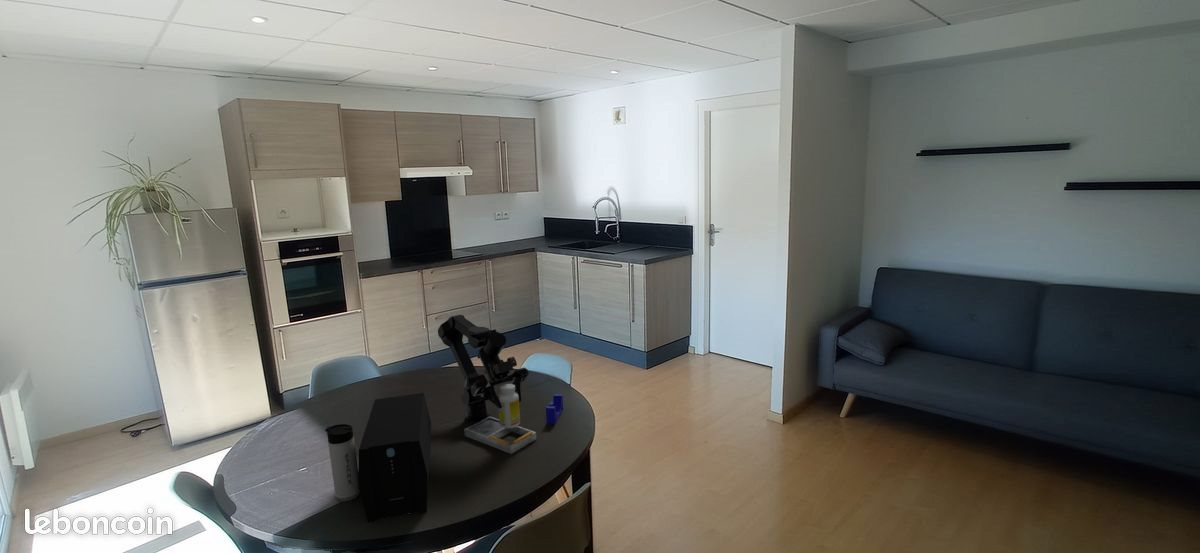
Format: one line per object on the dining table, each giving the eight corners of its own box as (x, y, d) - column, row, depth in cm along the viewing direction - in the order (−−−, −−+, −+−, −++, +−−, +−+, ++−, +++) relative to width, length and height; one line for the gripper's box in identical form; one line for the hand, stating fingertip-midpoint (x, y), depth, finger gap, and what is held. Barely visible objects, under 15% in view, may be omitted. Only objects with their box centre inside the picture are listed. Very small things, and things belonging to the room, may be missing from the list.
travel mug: (339, 489, 151) (330, 422, 147) (364, 487, 151) (355, 421, 148) (330, 502, 145) (321, 433, 141) (356, 500, 145) (347, 431, 141)
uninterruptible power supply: (363, 524, 135) (353, 450, 132) (378, 458, 167) (371, 397, 164) (431, 511, 140) (424, 439, 136) (434, 449, 171) (428, 390, 168)
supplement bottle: (522, 419, 177) (520, 382, 174) (518, 429, 170) (516, 390, 168) (501, 419, 177) (499, 382, 174) (497, 429, 170) (494, 390, 168)
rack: (464, 436, 180) (464, 426, 179) (490, 423, 188) (489, 414, 188) (511, 454, 167) (510, 444, 166) (536, 439, 176) (535, 429, 175)
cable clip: (551, 409, 198) (550, 393, 197) (563, 409, 198) (562, 394, 196) (542, 424, 187) (541, 407, 186) (555, 424, 186) (554, 408, 185)
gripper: (472, 357, 166) (491, 402, 160) (524, 343, 178) (544, 385, 171) (462, 374, 174) (481, 417, 167) (513, 360, 185) (532, 400, 179)
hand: (510, 404), depth 171 cm, fingers closed on supplement bottle, 7 cm apart
